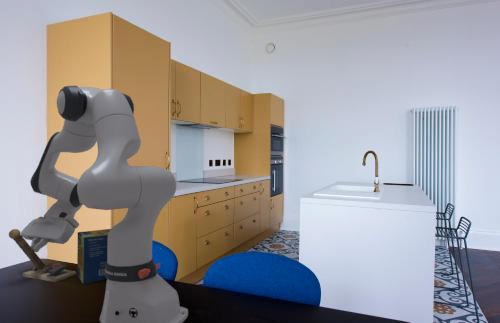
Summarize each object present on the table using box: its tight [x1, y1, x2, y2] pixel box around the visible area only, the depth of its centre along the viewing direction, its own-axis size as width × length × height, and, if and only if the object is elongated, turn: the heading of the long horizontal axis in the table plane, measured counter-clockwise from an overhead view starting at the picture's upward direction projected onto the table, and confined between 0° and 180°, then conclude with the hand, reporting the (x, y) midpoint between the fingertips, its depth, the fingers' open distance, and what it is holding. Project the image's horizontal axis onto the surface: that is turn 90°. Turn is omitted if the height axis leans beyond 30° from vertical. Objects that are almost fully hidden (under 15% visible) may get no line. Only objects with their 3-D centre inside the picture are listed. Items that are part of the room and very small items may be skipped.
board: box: [21, 265, 77, 283], centre depth 119 cm, size 16×8×3 cm, turn 70°
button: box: [51, 263, 61, 269], centre depth 120 cm, size 3×3×2 cm
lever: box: [8, 228, 48, 270], centre depth 115 cm, size 3×3×20 cm
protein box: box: [76, 228, 112, 285], centre depth 119 cm, size 10×15×16 cm
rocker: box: [48, 264, 68, 275], centre depth 117 cm, size 3×5×1 cm, turn 160°
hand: (32, 251), depth 116 cm, fingers closed, pressing on lever
